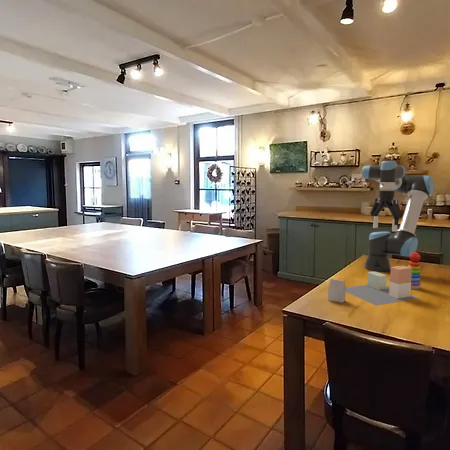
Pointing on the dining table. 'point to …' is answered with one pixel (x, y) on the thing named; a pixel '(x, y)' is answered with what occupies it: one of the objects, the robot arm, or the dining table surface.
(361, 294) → the charcoal mat
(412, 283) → the stacking toy
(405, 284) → the cream brick
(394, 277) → the terracotta brick
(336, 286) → the ivan-chai tea box
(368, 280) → the sage brick
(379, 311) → the dining table surface
